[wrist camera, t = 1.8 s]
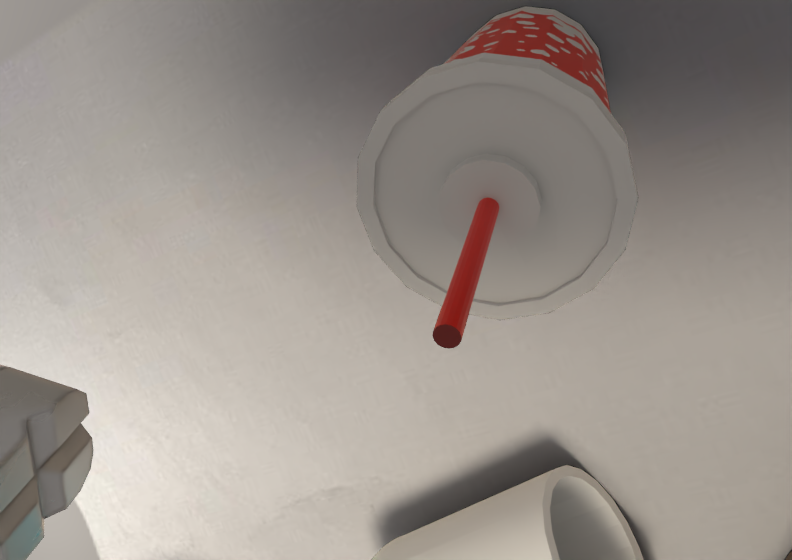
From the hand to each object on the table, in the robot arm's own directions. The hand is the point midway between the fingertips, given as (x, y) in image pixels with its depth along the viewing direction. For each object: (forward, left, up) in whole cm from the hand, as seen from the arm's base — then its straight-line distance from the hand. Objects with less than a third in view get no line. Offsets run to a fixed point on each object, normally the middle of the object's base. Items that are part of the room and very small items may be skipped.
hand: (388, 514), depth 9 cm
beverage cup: (0, 0, -18) cm, 18 cm away
